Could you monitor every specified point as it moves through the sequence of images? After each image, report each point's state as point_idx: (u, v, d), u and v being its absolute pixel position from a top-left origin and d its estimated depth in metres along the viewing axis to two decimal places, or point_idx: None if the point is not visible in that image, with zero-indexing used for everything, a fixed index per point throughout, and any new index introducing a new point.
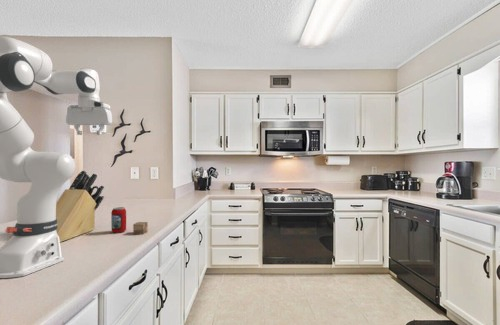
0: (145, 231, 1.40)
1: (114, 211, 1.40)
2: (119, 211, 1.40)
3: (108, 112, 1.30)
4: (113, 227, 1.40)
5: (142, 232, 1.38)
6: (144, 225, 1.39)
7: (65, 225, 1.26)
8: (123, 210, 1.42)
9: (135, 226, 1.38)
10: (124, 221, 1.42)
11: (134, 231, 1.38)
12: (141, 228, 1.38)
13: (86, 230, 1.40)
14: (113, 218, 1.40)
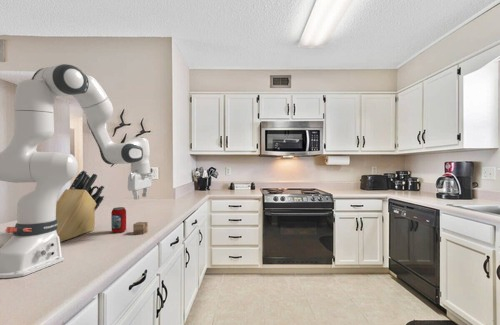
0: (145, 231, 1.40)
1: (114, 211, 1.40)
2: (119, 211, 1.40)
3: None
4: (113, 227, 1.40)
5: (142, 232, 1.38)
6: (144, 225, 1.39)
7: (65, 225, 1.26)
8: (123, 210, 1.42)
9: (135, 226, 1.38)
10: (124, 221, 1.42)
11: (134, 231, 1.38)
12: (141, 228, 1.38)
13: (86, 230, 1.40)
14: (113, 218, 1.40)
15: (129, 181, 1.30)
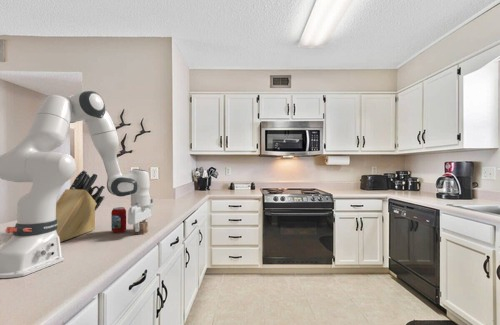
0: (145, 231, 1.40)
1: (114, 211, 1.40)
2: (119, 211, 1.40)
3: None
4: (113, 227, 1.40)
5: (142, 232, 1.38)
6: (144, 225, 1.39)
7: (65, 225, 1.26)
8: (123, 210, 1.42)
9: None
10: (124, 221, 1.42)
11: (134, 231, 1.38)
12: (141, 228, 1.38)
13: (86, 230, 1.40)
14: (113, 218, 1.40)
15: (129, 215, 1.30)
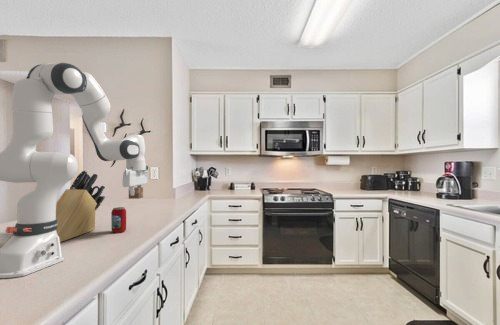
0: (140, 196, 1.40)
1: (114, 211, 1.40)
2: (119, 211, 1.40)
3: None
4: (113, 227, 1.40)
5: (137, 196, 1.38)
6: (139, 189, 1.39)
7: (65, 225, 1.26)
8: (123, 210, 1.42)
9: None
10: (124, 221, 1.42)
11: (129, 195, 1.38)
12: (136, 192, 1.38)
13: (86, 230, 1.40)
14: (113, 218, 1.40)
15: (124, 177, 1.31)
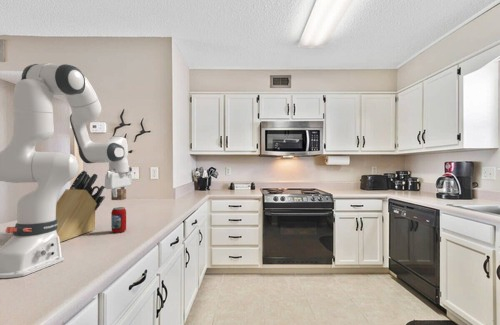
0: (123, 197, 1.42)
1: (114, 211, 1.40)
2: (119, 211, 1.40)
3: None
4: (113, 227, 1.40)
5: (120, 198, 1.40)
6: (122, 191, 1.41)
7: (65, 225, 1.26)
8: (123, 210, 1.42)
9: None
10: (124, 221, 1.42)
11: (112, 197, 1.40)
12: (119, 194, 1.40)
13: (86, 230, 1.40)
14: (113, 218, 1.40)
15: (106, 179, 1.33)
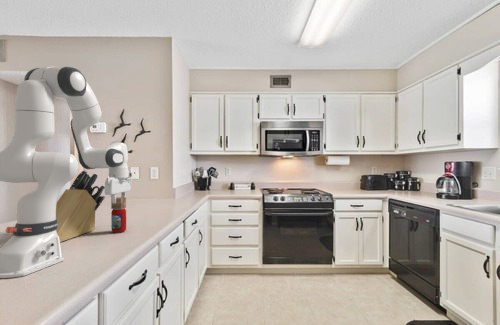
0: (123, 206, 1.42)
1: (114, 211, 1.40)
2: (119, 211, 1.40)
3: None
4: (113, 227, 1.40)
5: (120, 206, 1.40)
6: (122, 200, 1.41)
7: (65, 225, 1.26)
8: (123, 210, 1.42)
9: None
10: (124, 221, 1.42)
11: (112, 205, 1.40)
12: (119, 202, 1.40)
13: (86, 230, 1.40)
14: (113, 218, 1.40)
15: (106, 185, 1.33)
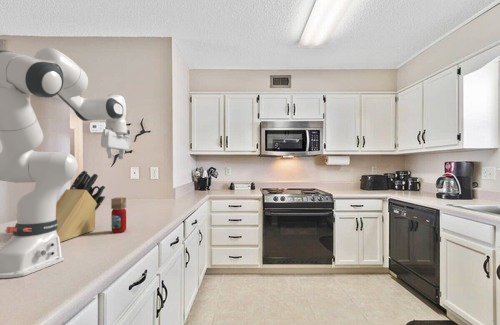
0: (123, 206, 1.42)
1: (114, 211, 1.40)
2: (119, 211, 1.40)
3: None
4: (113, 227, 1.40)
5: (120, 206, 1.40)
6: (122, 200, 1.41)
7: (65, 225, 1.26)
8: (123, 210, 1.42)
9: (113, 201, 1.40)
10: (124, 221, 1.42)
11: (112, 205, 1.40)
12: (119, 202, 1.40)
13: (86, 230, 1.40)
14: (113, 218, 1.40)
15: (102, 137, 1.24)
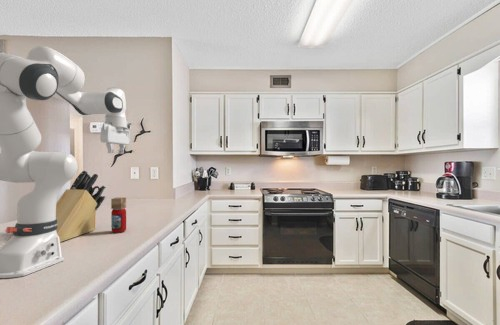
0: (123, 206, 1.42)
1: (114, 211, 1.40)
2: (119, 211, 1.40)
3: None
4: (113, 227, 1.40)
5: (120, 206, 1.40)
6: (122, 200, 1.41)
7: (65, 225, 1.26)
8: (123, 210, 1.42)
9: (113, 201, 1.40)
10: (124, 221, 1.42)
11: (112, 205, 1.40)
12: (119, 202, 1.40)
13: (87, 230, 1.39)
14: (113, 218, 1.40)
15: (102, 132, 1.23)
